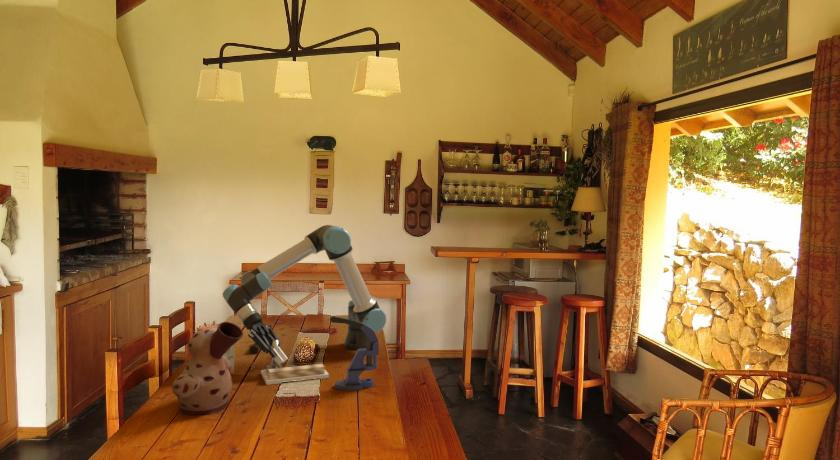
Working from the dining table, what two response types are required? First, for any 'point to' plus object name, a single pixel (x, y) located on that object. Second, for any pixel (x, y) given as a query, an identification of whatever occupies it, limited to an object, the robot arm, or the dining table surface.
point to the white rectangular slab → (278, 381)
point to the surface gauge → (273, 363)
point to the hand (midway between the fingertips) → (283, 361)
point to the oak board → (296, 371)
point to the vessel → (207, 371)
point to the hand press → (359, 359)
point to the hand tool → (254, 349)
